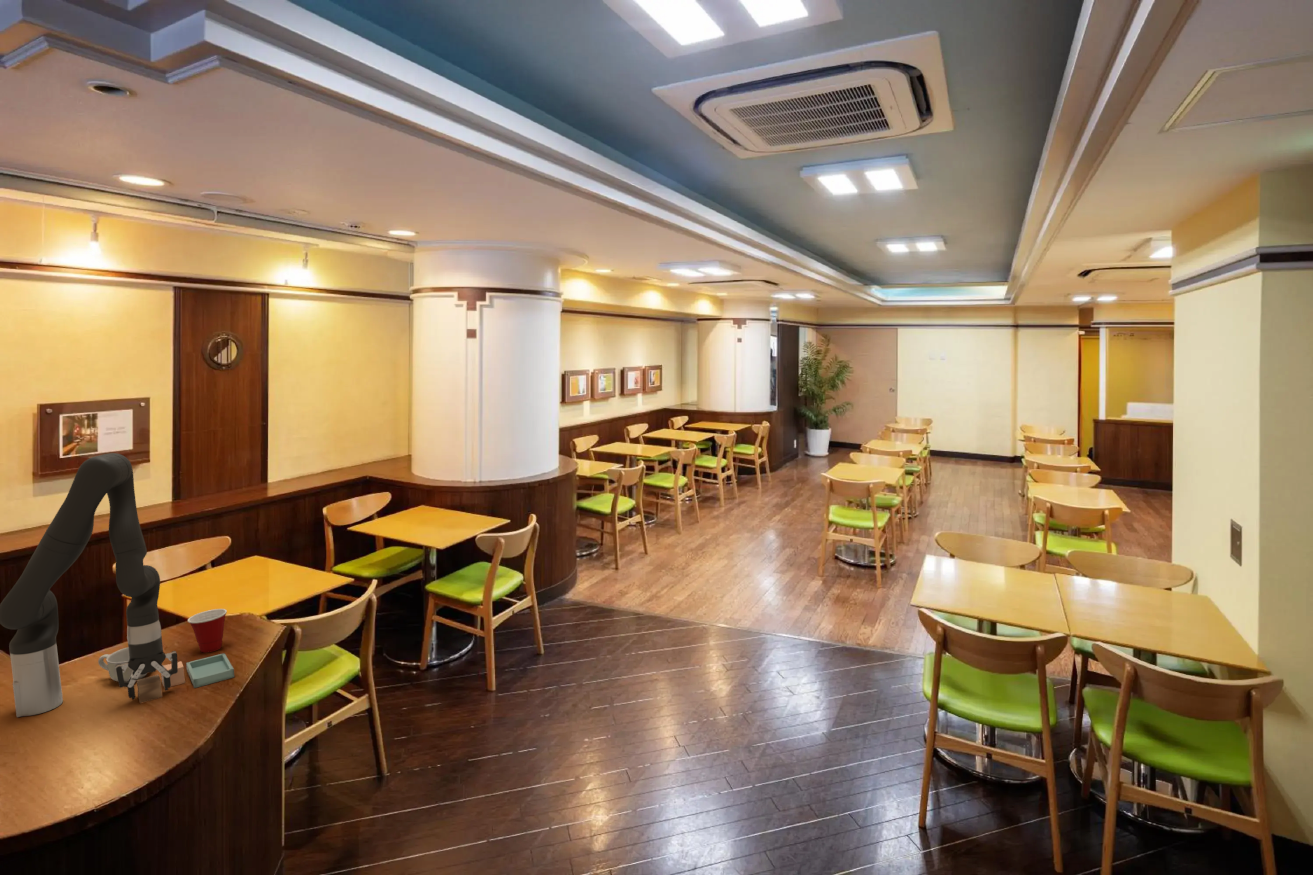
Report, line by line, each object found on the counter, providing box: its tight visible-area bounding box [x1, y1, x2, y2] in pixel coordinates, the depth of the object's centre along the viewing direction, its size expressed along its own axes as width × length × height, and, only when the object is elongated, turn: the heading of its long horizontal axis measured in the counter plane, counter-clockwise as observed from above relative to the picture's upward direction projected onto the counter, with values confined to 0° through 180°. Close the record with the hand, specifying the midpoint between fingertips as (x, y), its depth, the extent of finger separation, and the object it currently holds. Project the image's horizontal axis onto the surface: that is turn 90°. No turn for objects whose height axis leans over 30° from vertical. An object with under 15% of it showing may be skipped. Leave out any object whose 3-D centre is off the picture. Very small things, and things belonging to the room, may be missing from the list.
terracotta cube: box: [160, 661, 186, 688], centre depth 195 cm, size 5×5×5 cm
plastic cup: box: [187, 608, 227, 653], centre depth 217 cm, size 11×11×12 cm
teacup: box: [97, 646, 148, 682], centre depth 198 cm, size 14×11×8 cm
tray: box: [185, 652, 235, 689], centre depth 200 cm, size 10×15×2 cm, turn 42°
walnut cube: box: [136, 674, 163, 704], centre depth 187 cm, size 5×5×5 cm
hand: (150, 693), depth 187 cm, fingers open, 7 cm apart
